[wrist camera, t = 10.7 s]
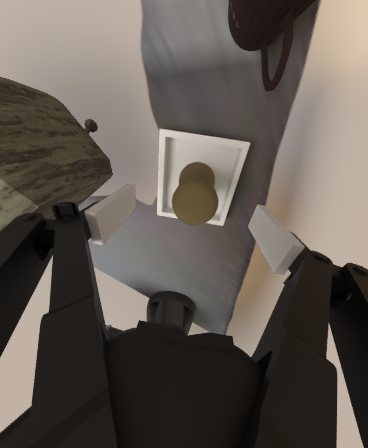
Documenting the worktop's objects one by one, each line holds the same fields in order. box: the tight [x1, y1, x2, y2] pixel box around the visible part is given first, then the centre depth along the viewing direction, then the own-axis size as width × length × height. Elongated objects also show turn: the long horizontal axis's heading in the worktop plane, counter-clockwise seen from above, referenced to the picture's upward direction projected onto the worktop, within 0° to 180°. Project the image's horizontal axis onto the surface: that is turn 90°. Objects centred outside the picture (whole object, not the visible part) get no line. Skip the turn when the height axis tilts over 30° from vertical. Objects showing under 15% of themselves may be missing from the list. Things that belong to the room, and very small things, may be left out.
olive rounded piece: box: [172, 162, 219, 225], centre depth 19 cm, size 6×6×11 cm
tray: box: [157, 129, 251, 226], centre depth 23 cm, size 13×12×3 cm
